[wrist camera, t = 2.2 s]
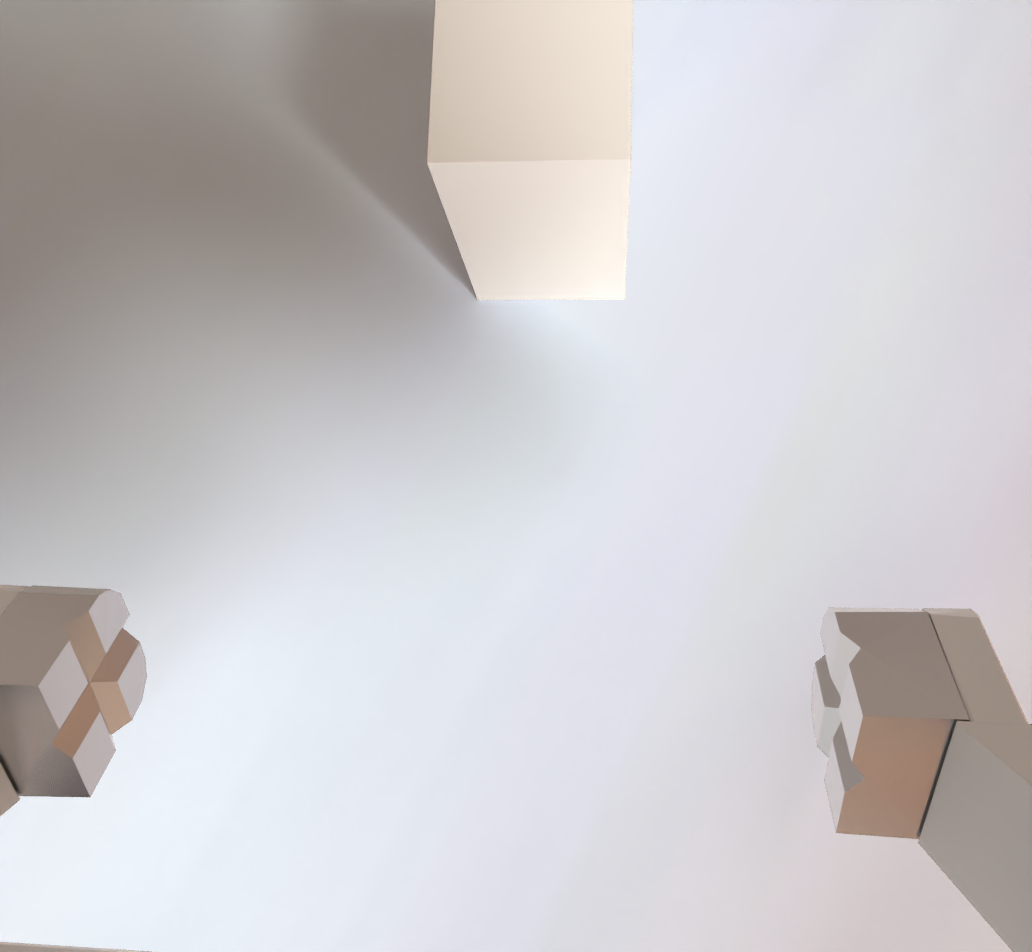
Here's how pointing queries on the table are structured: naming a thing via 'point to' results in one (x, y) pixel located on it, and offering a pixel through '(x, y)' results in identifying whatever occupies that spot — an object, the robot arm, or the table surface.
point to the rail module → (534, 143)
